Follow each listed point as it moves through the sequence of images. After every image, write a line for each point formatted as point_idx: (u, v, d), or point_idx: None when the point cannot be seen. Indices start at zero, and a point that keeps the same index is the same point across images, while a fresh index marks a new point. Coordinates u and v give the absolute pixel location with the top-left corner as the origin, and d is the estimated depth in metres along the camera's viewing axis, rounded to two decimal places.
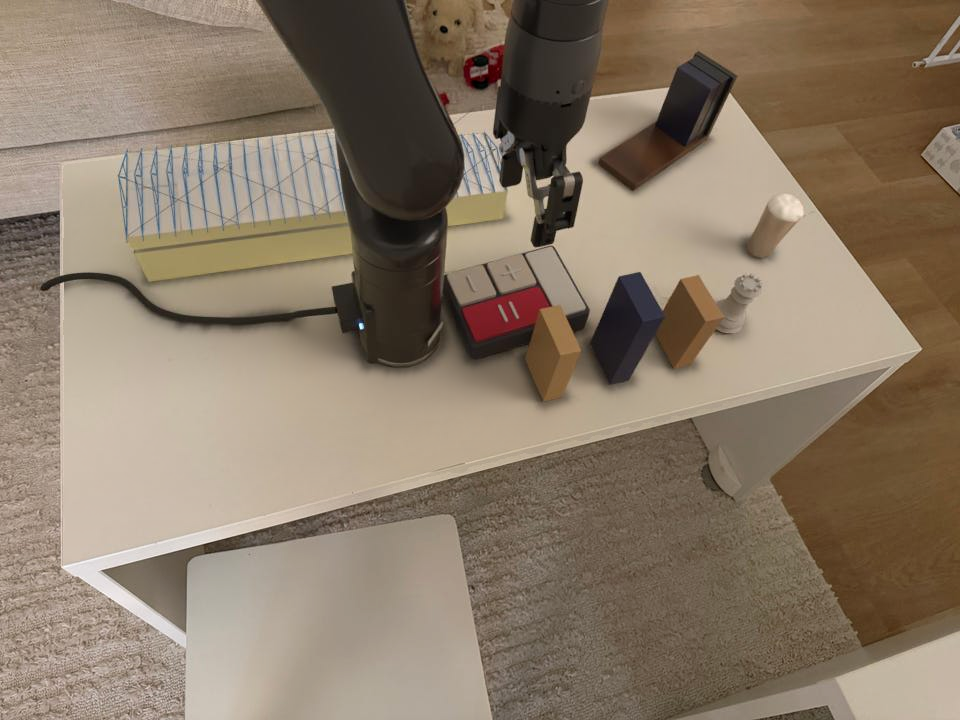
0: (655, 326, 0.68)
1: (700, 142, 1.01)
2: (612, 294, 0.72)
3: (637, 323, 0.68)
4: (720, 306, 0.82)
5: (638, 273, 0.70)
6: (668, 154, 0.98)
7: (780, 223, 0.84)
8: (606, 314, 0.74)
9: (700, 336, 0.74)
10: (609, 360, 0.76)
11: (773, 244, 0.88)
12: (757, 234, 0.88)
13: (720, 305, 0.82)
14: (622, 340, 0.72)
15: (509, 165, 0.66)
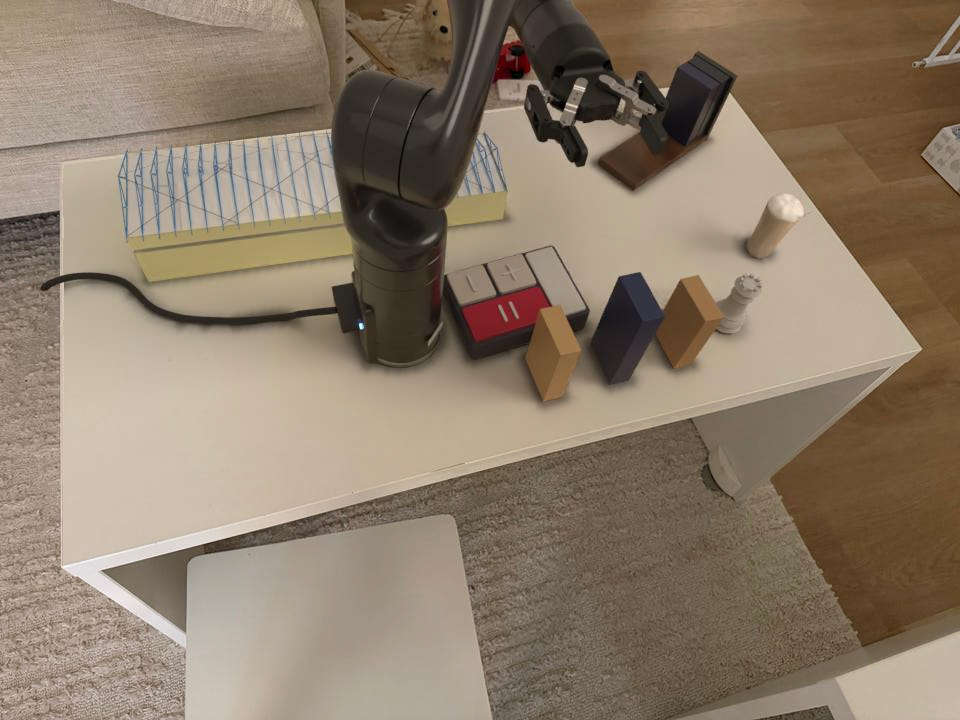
0: (655, 326, 0.68)
1: (700, 142, 1.01)
2: (612, 294, 0.72)
3: (637, 323, 0.68)
4: (720, 306, 0.82)
5: (638, 273, 0.70)
6: (668, 154, 0.98)
7: (779, 223, 0.84)
8: (606, 314, 0.74)
9: (700, 336, 0.74)
10: (609, 360, 0.76)
11: (773, 244, 0.88)
12: (757, 234, 0.88)
13: (720, 305, 0.82)
14: (622, 340, 0.72)
15: None
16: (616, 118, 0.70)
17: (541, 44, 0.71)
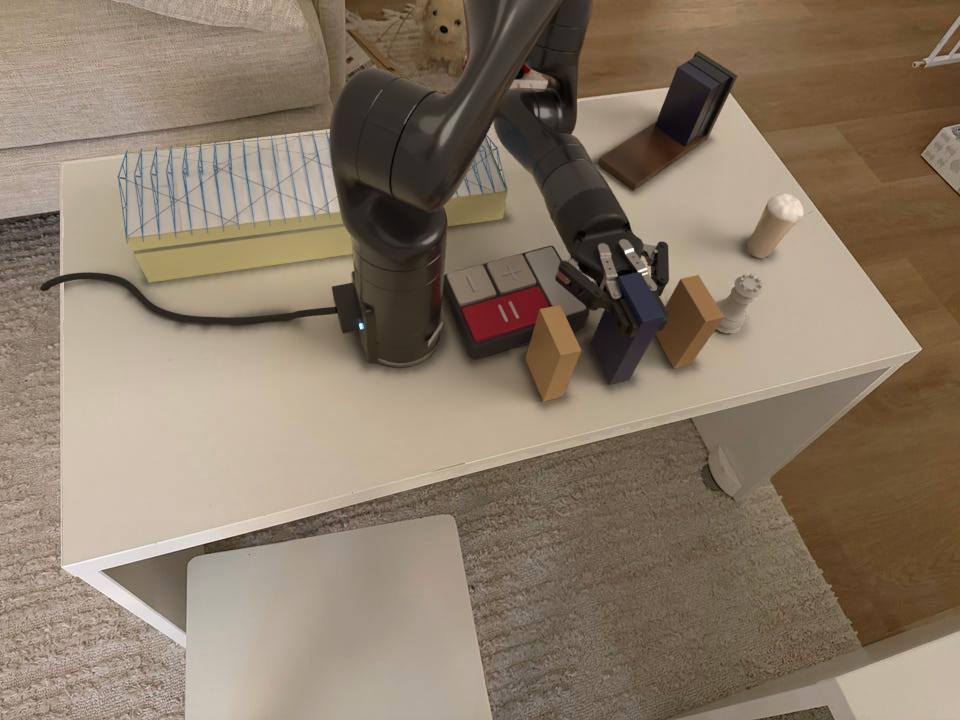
0: (655, 326, 0.68)
1: (700, 142, 1.01)
2: None
3: None
4: (720, 306, 0.82)
5: (638, 273, 0.70)
6: (668, 154, 0.98)
7: (779, 223, 0.84)
8: (606, 314, 0.74)
9: (700, 336, 0.74)
10: (609, 360, 0.76)
11: (773, 244, 0.88)
12: (757, 234, 0.88)
13: (720, 305, 0.82)
14: (622, 340, 0.72)
15: None
16: None
17: (563, 206, 0.74)
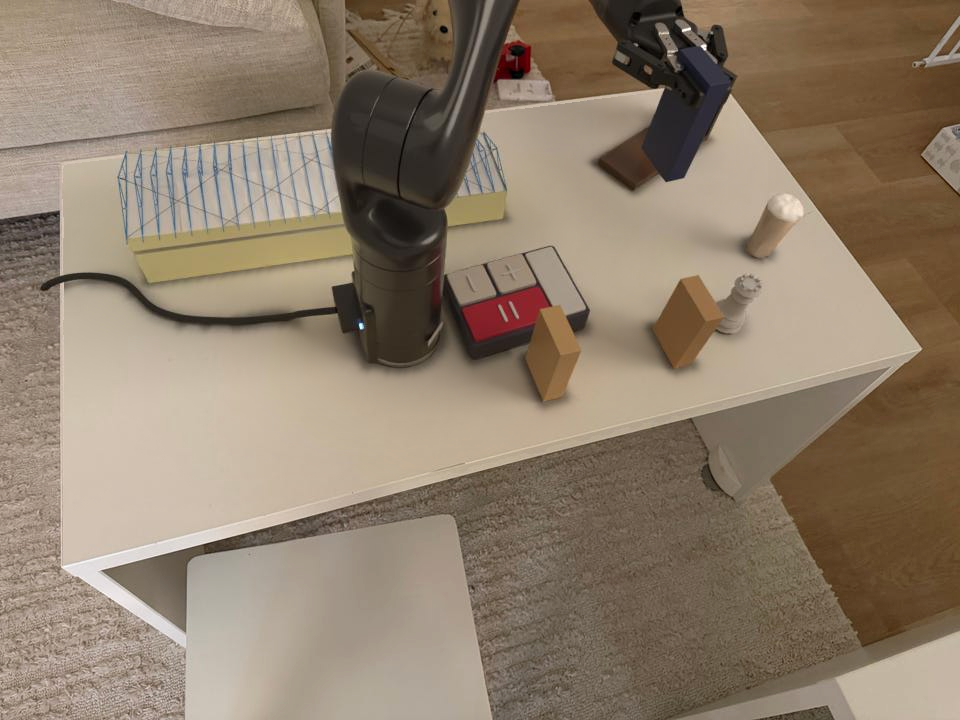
0: (720, 96, 0.68)
1: None
2: None
3: None
4: (720, 306, 0.82)
5: (698, 46, 0.69)
6: None
7: (779, 223, 0.84)
8: (663, 102, 0.73)
9: (700, 336, 0.74)
10: (666, 153, 0.75)
11: (773, 244, 0.88)
12: (757, 234, 0.88)
13: (720, 305, 0.82)
14: (683, 120, 0.71)
15: None
16: None
17: None
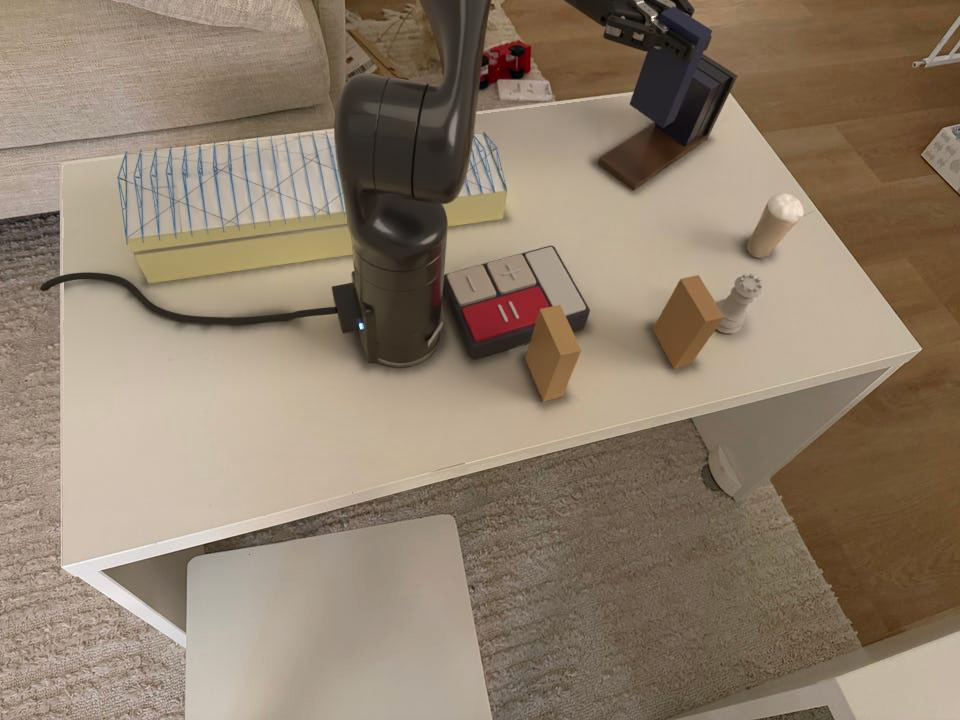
0: (704, 44, 0.80)
1: (700, 142, 1.01)
2: None
3: None
4: (720, 306, 0.82)
5: (673, 7, 0.80)
6: (668, 154, 0.98)
7: (779, 223, 0.84)
8: (649, 60, 0.84)
9: (700, 336, 0.74)
10: (659, 103, 0.87)
11: (773, 244, 0.88)
12: (757, 234, 0.88)
13: (720, 305, 0.82)
14: (674, 72, 0.83)
15: None
16: None
17: None
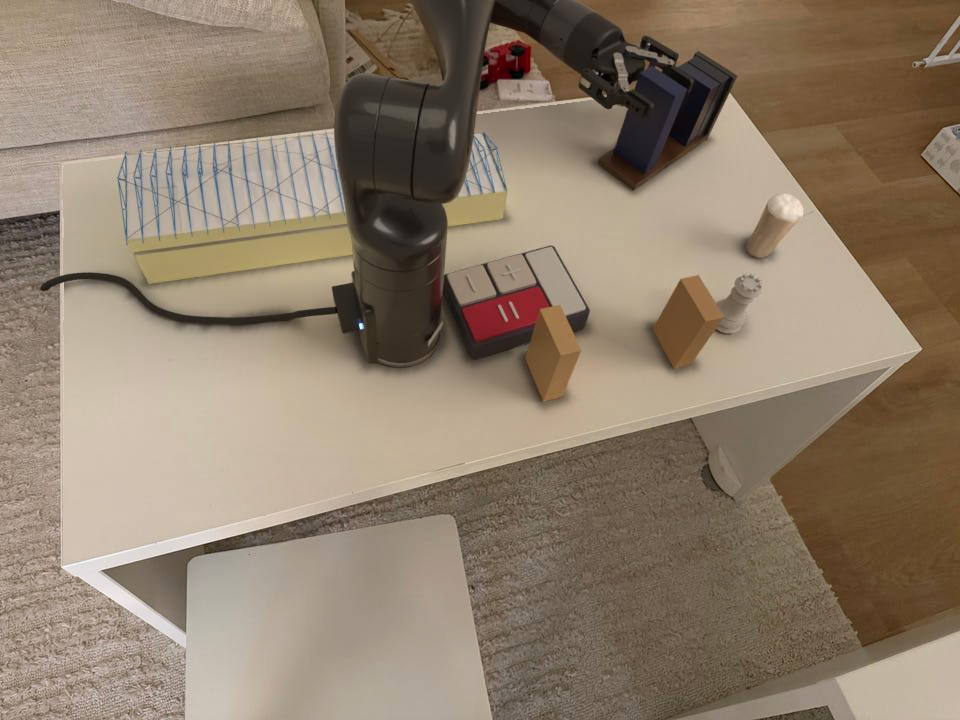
0: (680, 101, 0.87)
1: (700, 142, 1.01)
2: None
3: (669, 101, 0.86)
4: (720, 306, 0.82)
5: (651, 67, 0.87)
6: (668, 154, 0.98)
7: (779, 223, 0.84)
8: (630, 113, 0.91)
9: (700, 336, 0.74)
10: (641, 152, 0.94)
11: (773, 244, 0.88)
12: (757, 234, 0.88)
13: (720, 305, 0.82)
14: (654, 125, 0.89)
15: None
16: None
17: (570, 36, 0.89)
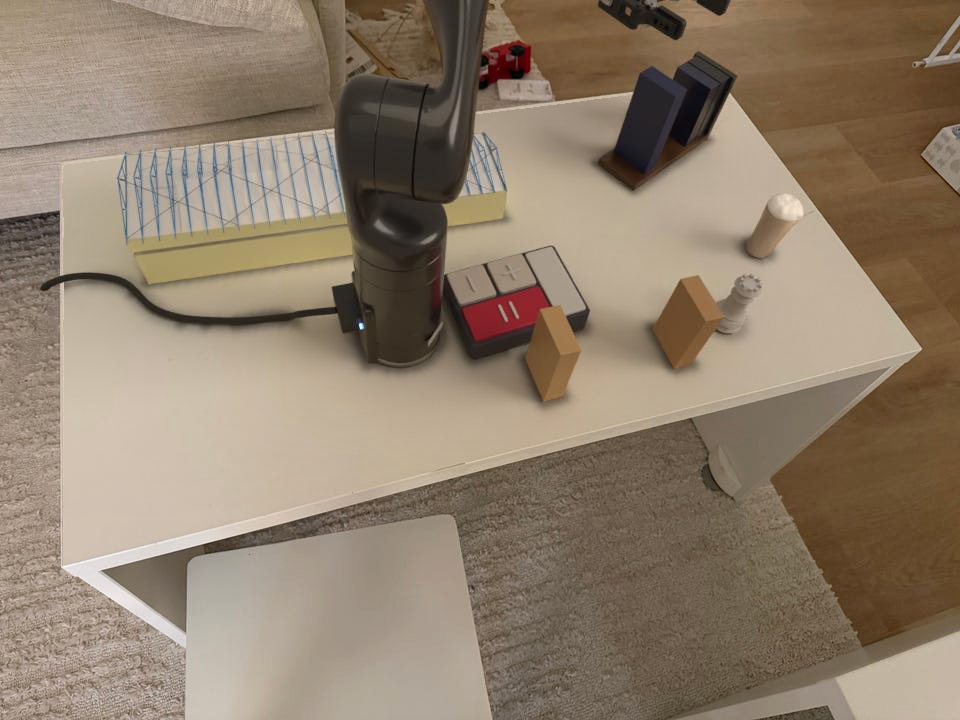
0: (680, 101, 0.87)
1: (700, 142, 1.01)
2: (635, 92, 0.89)
3: (669, 101, 0.86)
4: (720, 306, 0.82)
5: (651, 67, 0.87)
6: (668, 154, 0.98)
7: (779, 223, 0.84)
8: (630, 113, 0.91)
9: (700, 336, 0.74)
10: (641, 152, 0.94)
11: (773, 244, 0.88)
12: (757, 234, 0.88)
13: (720, 305, 0.82)
14: (654, 125, 0.89)
15: None
16: None
17: None
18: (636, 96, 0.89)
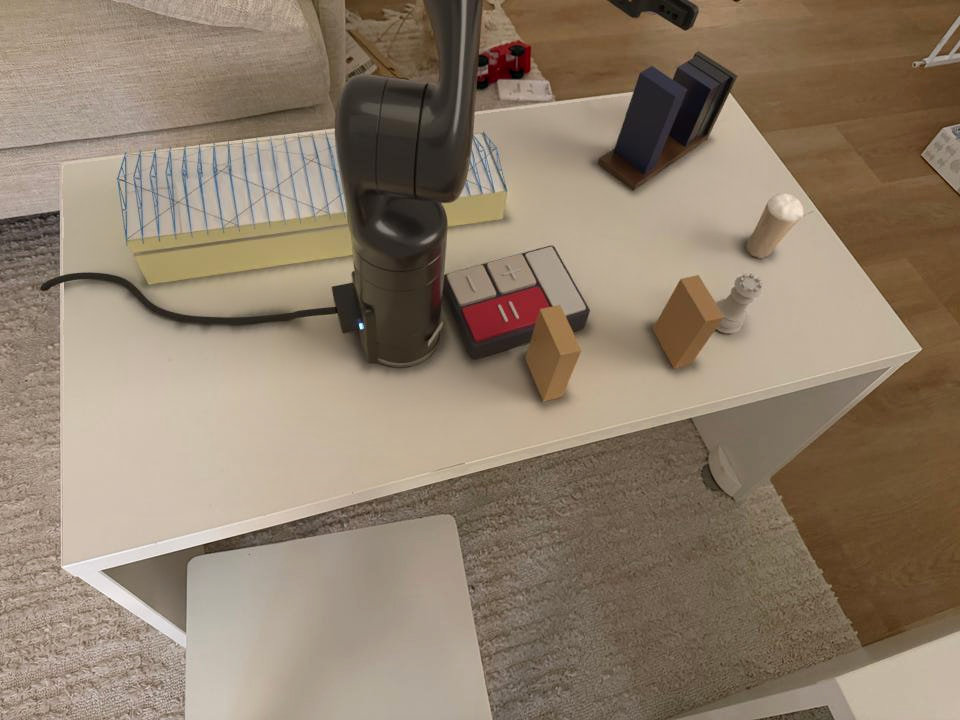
0: (680, 101, 0.87)
1: (700, 142, 1.01)
2: (635, 92, 0.89)
3: (669, 101, 0.86)
4: (720, 306, 0.82)
5: (651, 67, 0.87)
6: (668, 154, 0.98)
7: (779, 223, 0.84)
8: (630, 113, 0.91)
9: (700, 336, 0.74)
10: (641, 152, 0.94)
11: (773, 244, 0.88)
12: (757, 234, 0.88)
13: (720, 305, 0.82)
14: (654, 125, 0.89)
15: None
16: None
17: None
18: (636, 96, 0.89)
